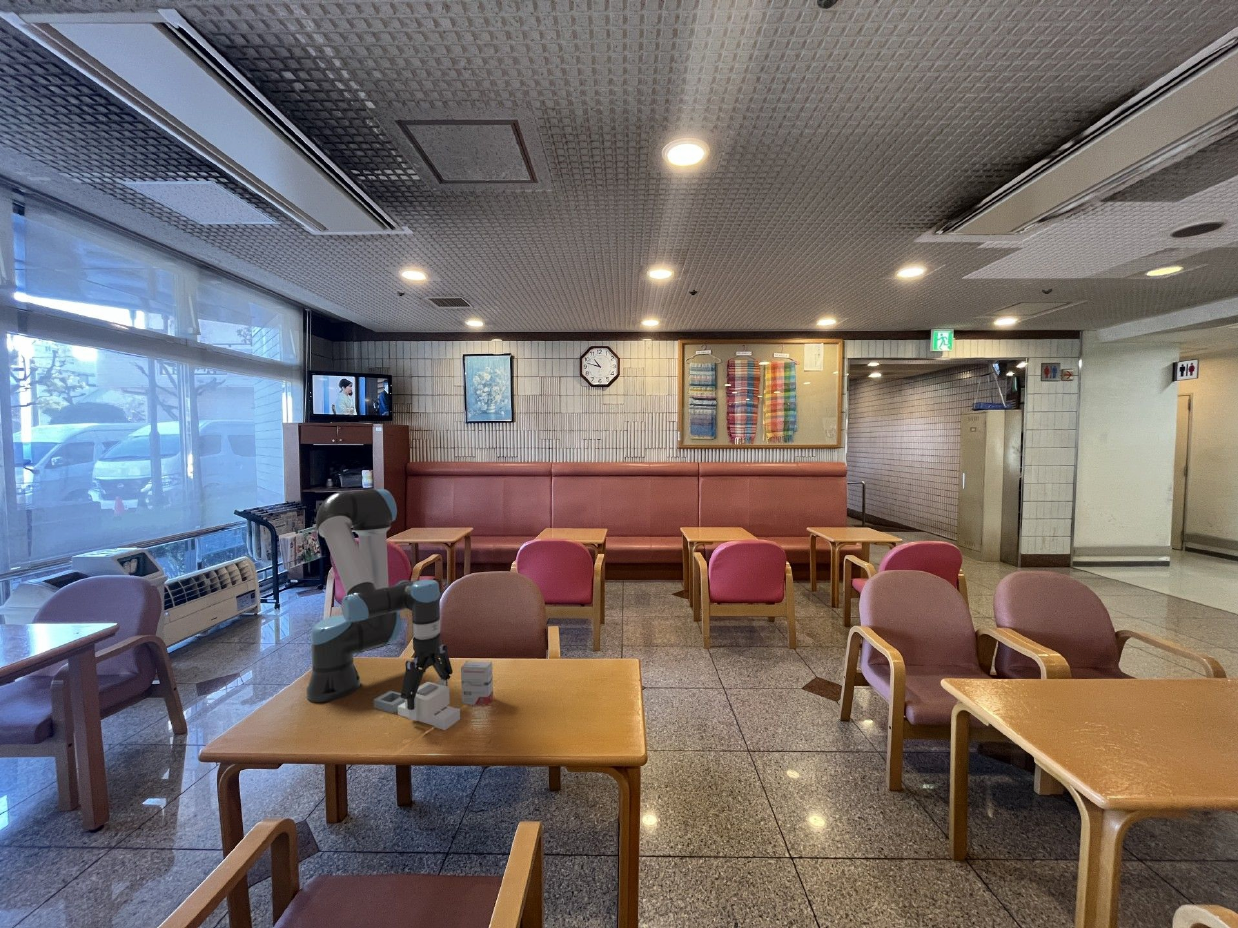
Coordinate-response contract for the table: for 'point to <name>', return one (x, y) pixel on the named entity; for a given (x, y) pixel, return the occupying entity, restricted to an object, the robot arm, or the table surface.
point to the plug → (431, 699)
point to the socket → (436, 716)
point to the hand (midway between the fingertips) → (428, 709)
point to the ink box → (477, 683)
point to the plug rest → (389, 702)
